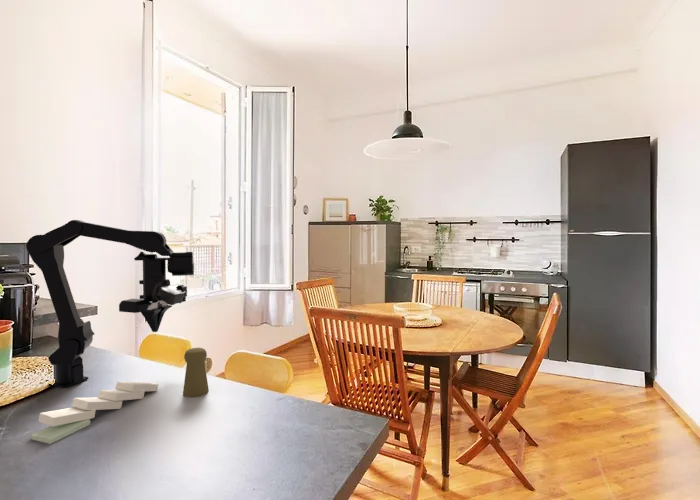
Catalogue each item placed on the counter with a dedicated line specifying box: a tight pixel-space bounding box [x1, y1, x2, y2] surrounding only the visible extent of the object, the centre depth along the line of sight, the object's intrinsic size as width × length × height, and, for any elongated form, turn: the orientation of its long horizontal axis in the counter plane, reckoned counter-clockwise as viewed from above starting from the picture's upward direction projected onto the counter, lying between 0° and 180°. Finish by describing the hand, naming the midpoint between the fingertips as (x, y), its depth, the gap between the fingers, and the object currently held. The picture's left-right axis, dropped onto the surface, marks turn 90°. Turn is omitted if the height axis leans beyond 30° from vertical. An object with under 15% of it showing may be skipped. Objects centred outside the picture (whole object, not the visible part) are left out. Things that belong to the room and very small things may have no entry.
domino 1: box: [38, 406, 97, 427], centre depth 80 cm, size 2×5×8 cm
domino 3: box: [98, 389, 145, 401], centre depth 91 cm, size 2×5×8 cm
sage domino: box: [31, 419, 91, 445], centre depth 78 cm, size 2×5×8 cm
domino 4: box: [114, 381, 159, 392], centre depth 95 cm, size 2×5×8 cm
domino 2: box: [70, 396, 124, 411], centre depth 85 cm, size 2×5×8 cm
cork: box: [182, 347, 210, 398], centre depth 97 cm, size 6×6×11 cm
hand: (155, 331), depth 109 cm, fingers closed
